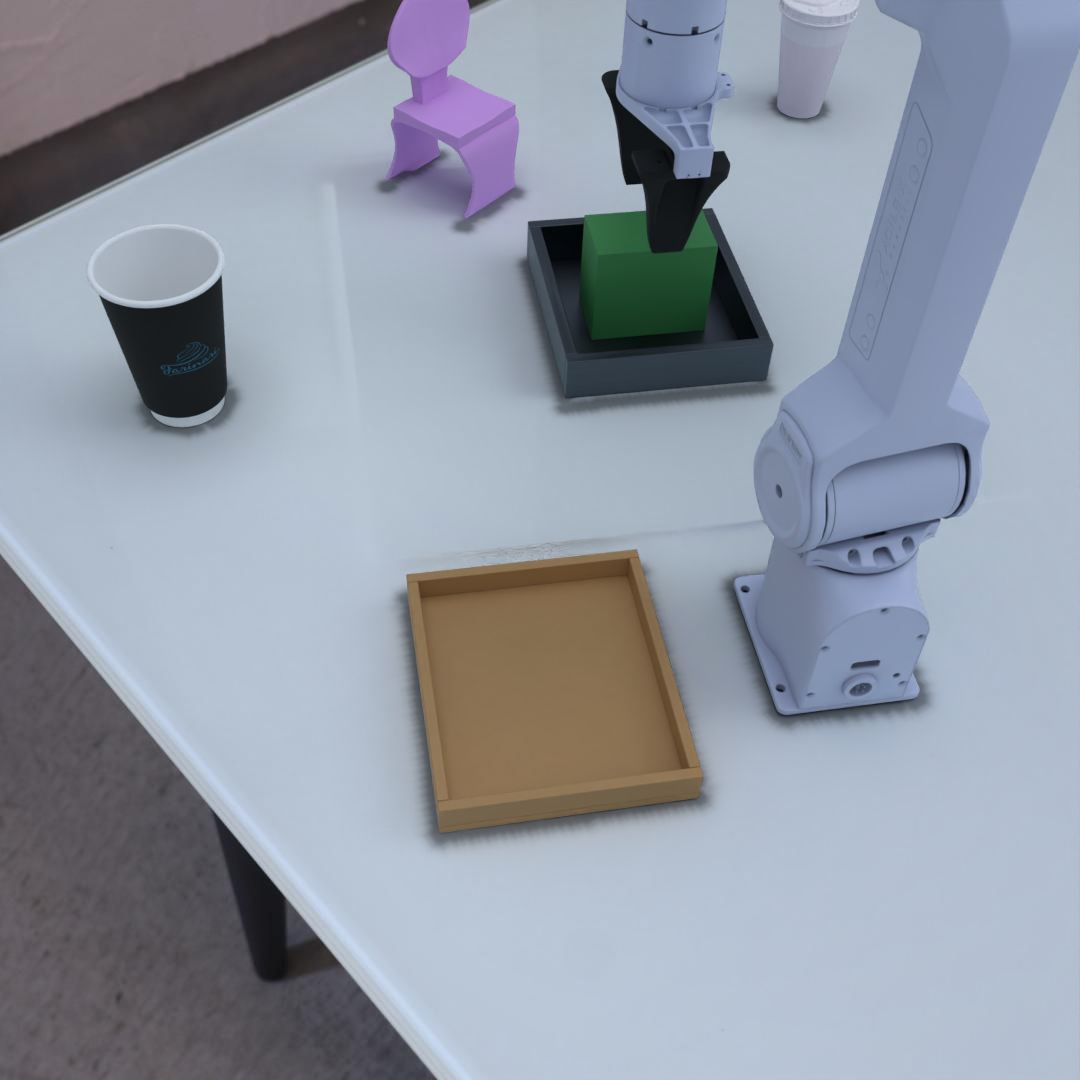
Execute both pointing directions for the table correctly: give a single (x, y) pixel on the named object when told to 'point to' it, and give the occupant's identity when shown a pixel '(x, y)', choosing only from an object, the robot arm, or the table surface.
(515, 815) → the tray
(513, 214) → the table surface
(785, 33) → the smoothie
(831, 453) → the robot arm
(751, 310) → the dark grey tray
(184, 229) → the dixie cup
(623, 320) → the green rectangular block
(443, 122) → the toy chair
